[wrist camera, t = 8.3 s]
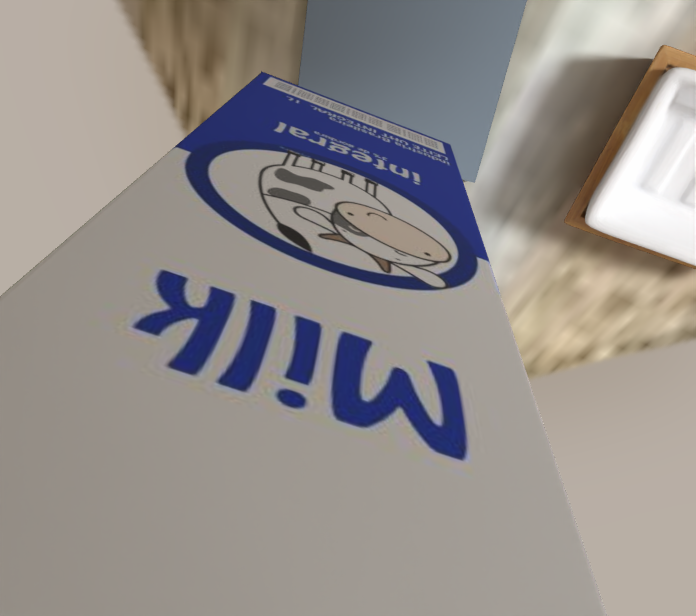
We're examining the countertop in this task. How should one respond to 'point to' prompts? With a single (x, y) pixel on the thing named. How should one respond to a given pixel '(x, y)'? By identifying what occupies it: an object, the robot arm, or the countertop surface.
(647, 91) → the soap dish
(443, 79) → the mat
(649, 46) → the countertop surface
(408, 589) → the milk carton
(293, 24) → the countertop surface
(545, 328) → the countertop surface
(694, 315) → the countertop surface
